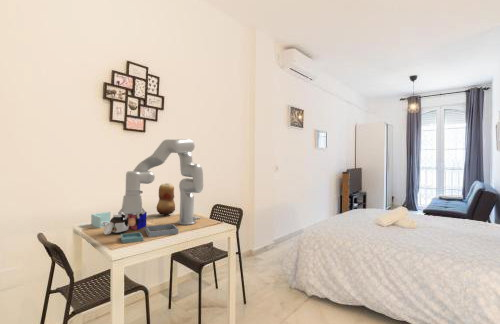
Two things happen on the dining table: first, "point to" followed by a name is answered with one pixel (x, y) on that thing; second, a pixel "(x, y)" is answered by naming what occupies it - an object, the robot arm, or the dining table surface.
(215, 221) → the dining table surface
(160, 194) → the butternut squash
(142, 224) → the puzzle cube
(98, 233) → the dining table surface
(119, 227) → the spread jar
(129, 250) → the dining table surface
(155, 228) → the grey hollow rectangular frame
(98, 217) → the l-shaped corner panel
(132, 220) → the ball
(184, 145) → the robot arm
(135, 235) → the dish
